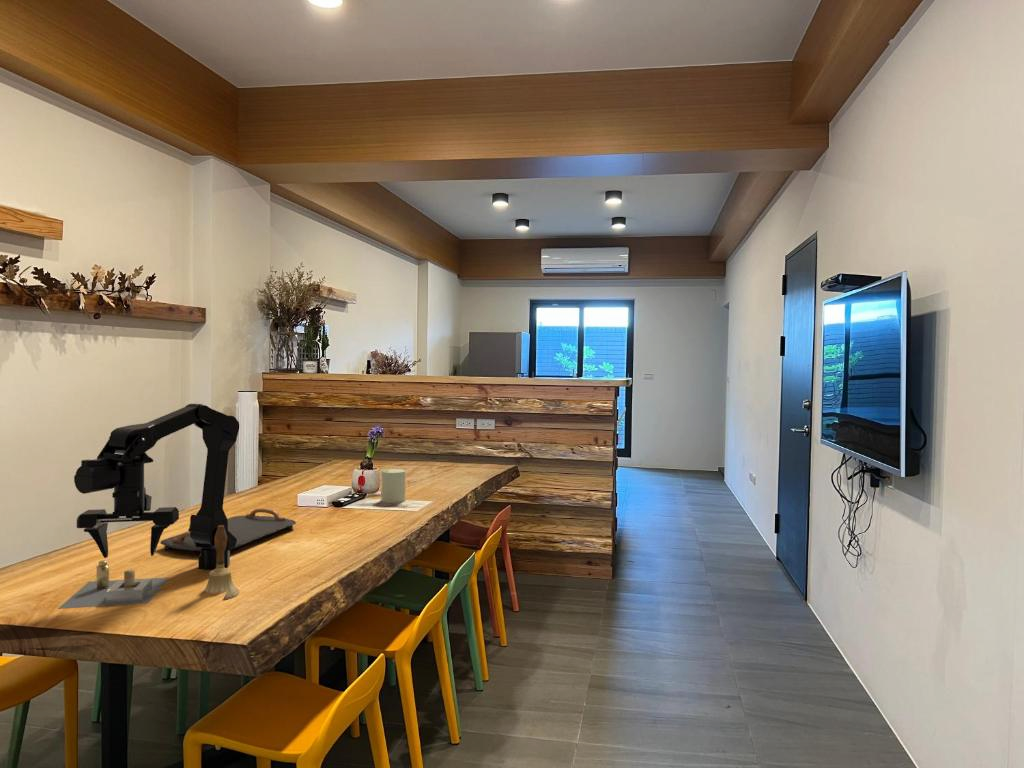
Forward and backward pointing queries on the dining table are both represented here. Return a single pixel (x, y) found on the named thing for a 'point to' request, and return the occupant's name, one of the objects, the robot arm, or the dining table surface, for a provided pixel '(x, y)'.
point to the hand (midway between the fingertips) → (129, 556)
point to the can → (393, 485)
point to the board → (96, 597)
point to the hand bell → (221, 569)
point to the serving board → (238, 529)
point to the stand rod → (129, 579)
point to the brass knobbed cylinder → (102, 575)
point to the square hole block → (128, 591)
